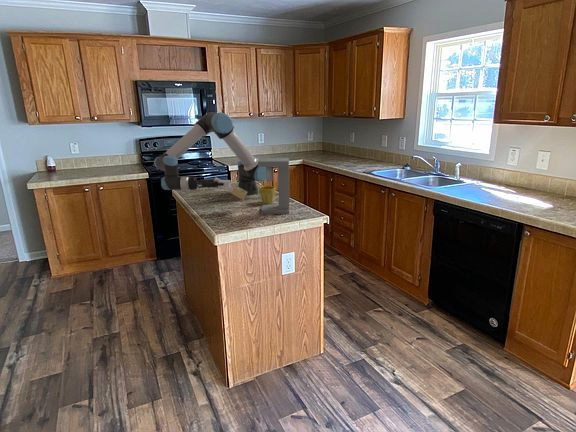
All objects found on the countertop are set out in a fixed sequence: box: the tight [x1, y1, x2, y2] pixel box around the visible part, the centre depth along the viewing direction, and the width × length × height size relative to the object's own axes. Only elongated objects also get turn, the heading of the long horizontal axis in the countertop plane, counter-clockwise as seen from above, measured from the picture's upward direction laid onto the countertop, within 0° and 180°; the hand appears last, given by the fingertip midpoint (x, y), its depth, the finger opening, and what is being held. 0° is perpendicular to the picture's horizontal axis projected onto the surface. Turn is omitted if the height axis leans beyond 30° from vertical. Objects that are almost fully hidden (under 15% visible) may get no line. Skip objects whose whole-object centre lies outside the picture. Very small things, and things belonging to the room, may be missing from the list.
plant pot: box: [258, 185, 276, 205], centre depth 237 cm, size 10×10×10 cm
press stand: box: [258, 157, 290, 215], centre depth 216 cm, size 12×17×30 cm
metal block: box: [213, 177, 248, 201], centre depth 216 cm, size 6×20×4 cm
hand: (230, 183), depth 215 cm, fingers closed on metal block, 3 cm apart
